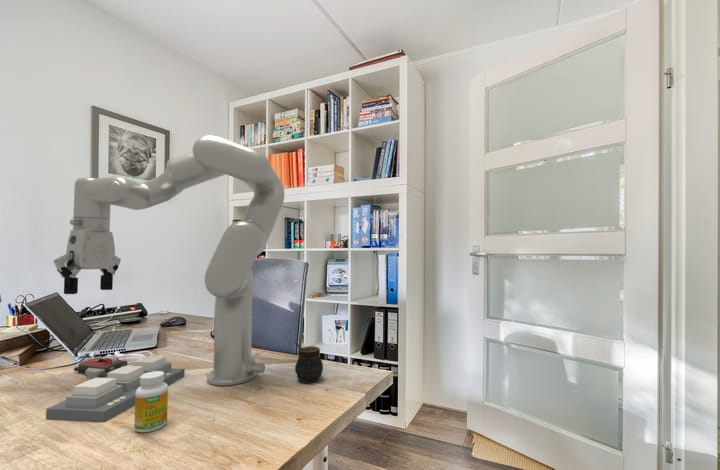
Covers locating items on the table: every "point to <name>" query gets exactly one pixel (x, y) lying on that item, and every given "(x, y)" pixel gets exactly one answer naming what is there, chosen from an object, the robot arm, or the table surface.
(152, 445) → the table surface
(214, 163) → the robot arm
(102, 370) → the walkie-talkie
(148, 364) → the button
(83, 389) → the button
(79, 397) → the button panel
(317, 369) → the mate gourd
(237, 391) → the table surface
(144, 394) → the supplement bottle
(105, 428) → the table surface
